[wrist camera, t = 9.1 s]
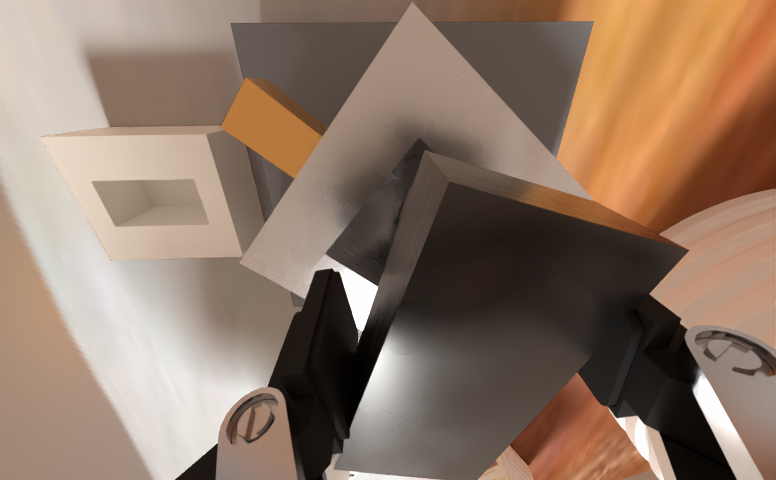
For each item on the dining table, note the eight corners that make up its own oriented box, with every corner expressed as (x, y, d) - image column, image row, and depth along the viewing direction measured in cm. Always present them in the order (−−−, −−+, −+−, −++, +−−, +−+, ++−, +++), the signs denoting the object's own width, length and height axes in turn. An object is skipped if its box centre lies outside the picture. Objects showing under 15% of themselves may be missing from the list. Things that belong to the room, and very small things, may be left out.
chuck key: (479, 141, 15) (689, 250, 5) (422, 274, 19) (475, 482, 9) (397, 115, 14) (449, 180, 4) (356, 260, 18) (333, 469, 8)
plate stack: (545, 398, 36) (609, 517, 26) (627, 192, 23) (823, 273, 13) (755, 387, 37) (898, 501, 27) (957, 179, 23) (1397, 248, 13)
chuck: (543, 182, 18) (614, 222, 12) (417, 299, 22) (430, 366, 17) (349, -16, 13) (328, -90, 7) (235, 183, 17) (171, 226, 12)
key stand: (266, 228, 23) (243, 256, 19) (156, 230, 23) (110, 260, 19) (241, 125, 19) (205, 134, 15) (108, 127, 19) (39, 136, 15)
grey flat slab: (498, 271, 26) (517, 299, 23) (305, 276, 26) (293, 306, 22) (550, 34, 17) (593, 21, 14) (261, 36, 17) (230, 23, 14)
